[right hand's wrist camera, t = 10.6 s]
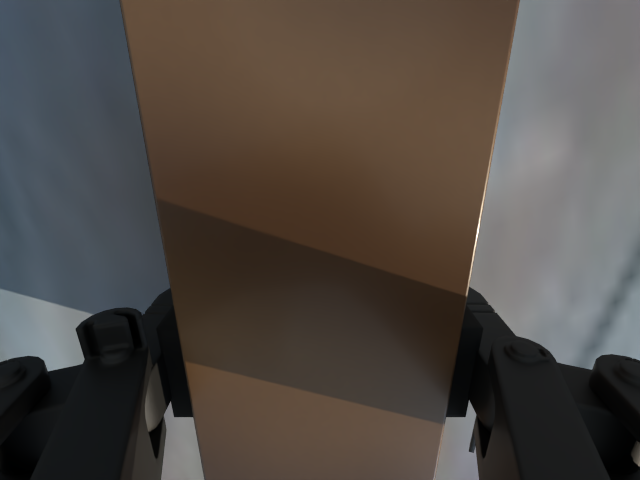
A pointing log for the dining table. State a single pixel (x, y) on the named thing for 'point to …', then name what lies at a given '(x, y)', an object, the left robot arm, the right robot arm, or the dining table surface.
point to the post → (319, 218)
